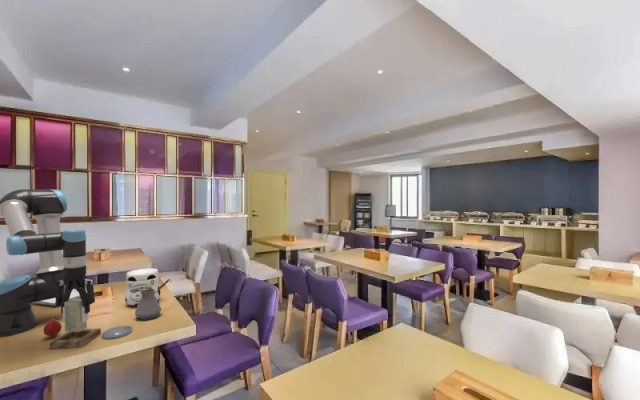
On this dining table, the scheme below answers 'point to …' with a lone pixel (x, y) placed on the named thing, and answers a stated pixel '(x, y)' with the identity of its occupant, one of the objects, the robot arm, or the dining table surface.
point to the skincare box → (74, 316)
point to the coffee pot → (148, 304)
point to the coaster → (117, 332)
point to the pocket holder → (78, 343)
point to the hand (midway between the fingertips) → (75, 321)
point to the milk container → (140, 284)
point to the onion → (52, 328)
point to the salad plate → (52, 301)
